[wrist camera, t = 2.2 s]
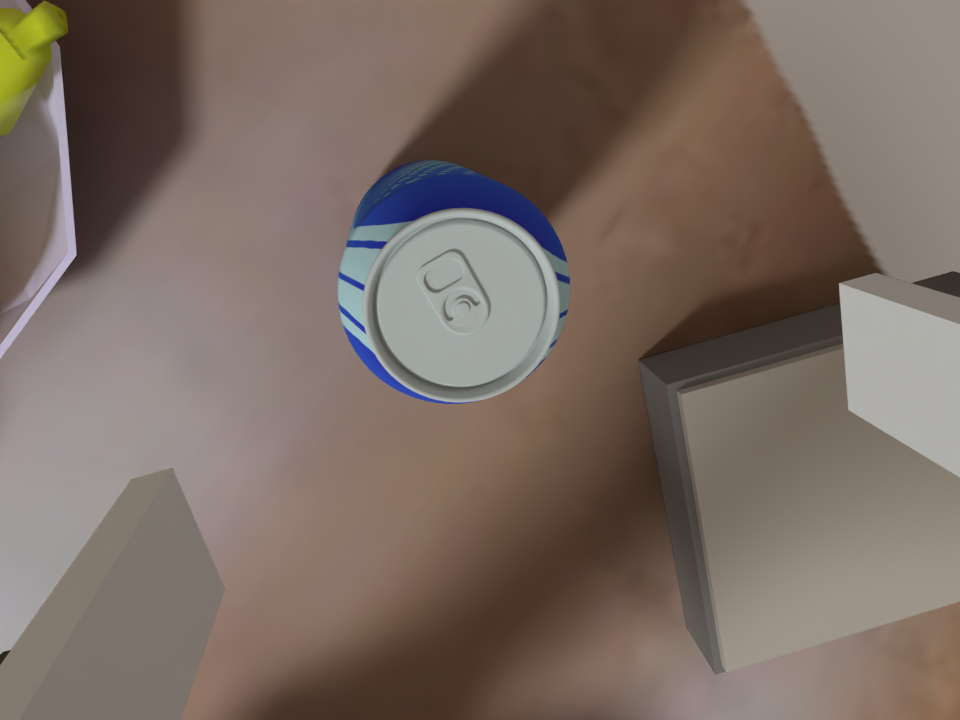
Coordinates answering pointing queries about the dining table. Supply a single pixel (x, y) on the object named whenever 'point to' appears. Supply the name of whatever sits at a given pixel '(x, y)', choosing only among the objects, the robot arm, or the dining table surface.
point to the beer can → (451, 283)
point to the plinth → (792, 494)
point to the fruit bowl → (32, 163)
